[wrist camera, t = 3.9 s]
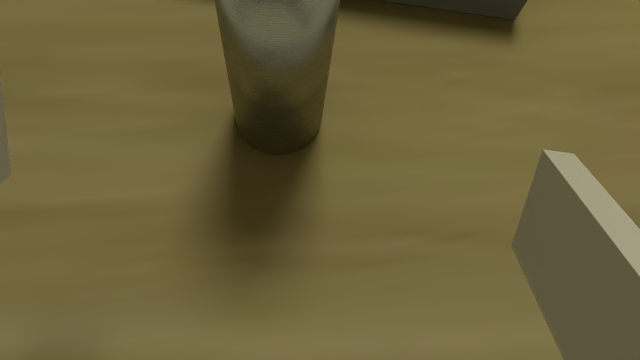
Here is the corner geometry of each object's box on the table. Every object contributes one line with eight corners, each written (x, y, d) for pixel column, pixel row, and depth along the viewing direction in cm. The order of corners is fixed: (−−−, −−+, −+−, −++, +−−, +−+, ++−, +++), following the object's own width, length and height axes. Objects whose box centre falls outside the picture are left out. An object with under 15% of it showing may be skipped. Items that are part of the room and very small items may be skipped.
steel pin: (228, 148, 27) (188, -25, 15) (243, 70, 28) (217, -142, 17) (316, 160, 27) (341, -3, 15) (326, 82, 28) (357, -121, 17)
